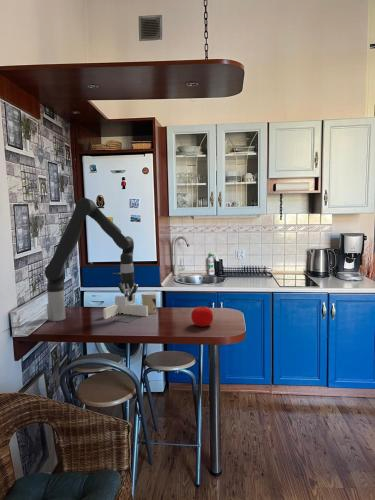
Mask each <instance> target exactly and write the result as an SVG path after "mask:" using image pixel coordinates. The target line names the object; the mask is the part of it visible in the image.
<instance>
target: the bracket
mask: <svg viewBox="0 0 375 500" xmlns="http://www.w3.org/2000/svg"><path fill="white" fill-rule="evenodd" d="M135 303H136V293H134V294H133V300H132V301H129V294H128V296H125V295H121V296H120V295H115V296H114V304H115V305H119V306H127V305H130V304H135Z"/></svg>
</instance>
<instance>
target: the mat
mask: <svg viewBox="0 0 375 500" xmlns="http://www.w3.org/2000/svg"><path fill="white" fill-rule="evenodd" d="M138 318H140V316H139V315H130V314H124V315H123V316H120V317H118V318H116V319H114V320H113V321H114V322H119V323H127V324H128V323H130V322H133V321H135V320H138Z"/></svg>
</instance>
